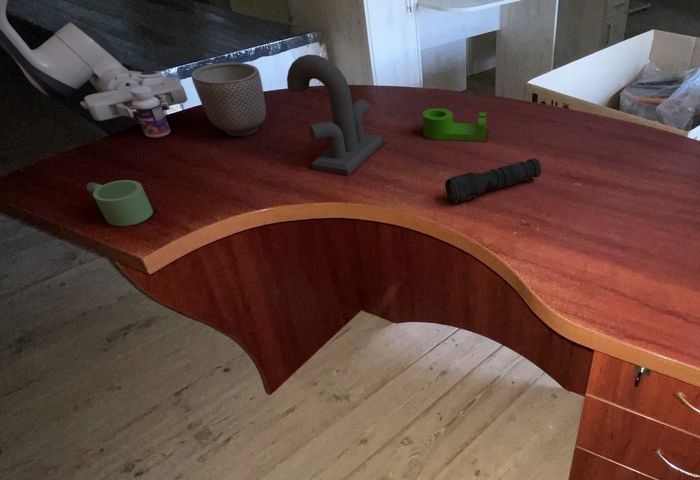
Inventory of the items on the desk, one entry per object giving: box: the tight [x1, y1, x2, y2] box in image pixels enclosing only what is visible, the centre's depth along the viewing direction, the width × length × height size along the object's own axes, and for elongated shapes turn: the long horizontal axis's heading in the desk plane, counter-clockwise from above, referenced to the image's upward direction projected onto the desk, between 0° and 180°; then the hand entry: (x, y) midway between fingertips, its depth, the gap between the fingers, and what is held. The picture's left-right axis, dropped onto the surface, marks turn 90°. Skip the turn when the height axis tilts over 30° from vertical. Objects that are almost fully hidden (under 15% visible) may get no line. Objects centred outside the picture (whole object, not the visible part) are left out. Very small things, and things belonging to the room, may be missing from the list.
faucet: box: [286, 54, 384, 176], centre depth 114 cm, size 18×16×20 cm
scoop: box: [86, 179, 154, 227], centre depth 97 cm, size 12×8×5 cm, turn 65°
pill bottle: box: [130, 86, 171, 138], centre depth 120 cm, size 5×5×10 cm
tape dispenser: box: [422, 107, 487, 142], centre depth 129 cm, size 15×7×5 cm, turn 89°
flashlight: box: [444, 157, 542, 204], centre depth 109 cm, size 5×21×5 cm, turn 123°
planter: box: [191, 61, 267, 137], centre depth 122 cm, size 14×14×13 cm
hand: (150, 110), depth 119 cm, fingers closed on pill bottle, 5 cm apart
